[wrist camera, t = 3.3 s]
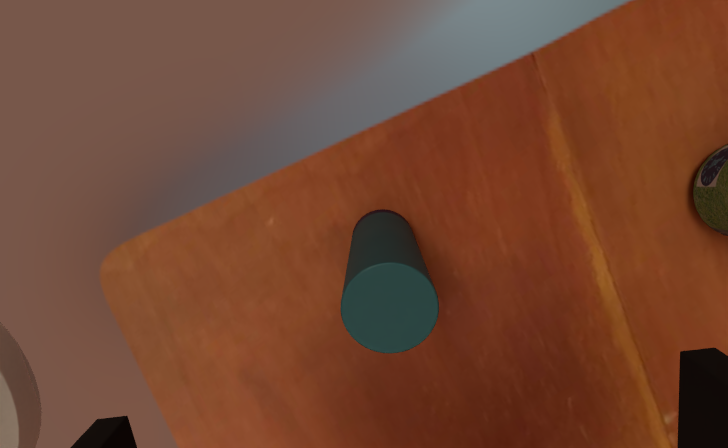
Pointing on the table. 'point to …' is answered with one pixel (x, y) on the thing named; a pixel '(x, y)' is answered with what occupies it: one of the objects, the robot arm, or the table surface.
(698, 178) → the beverage can
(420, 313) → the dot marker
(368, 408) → the table surface
